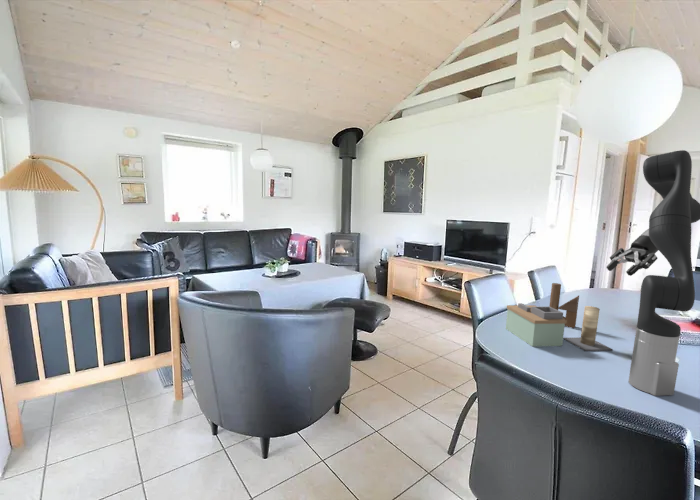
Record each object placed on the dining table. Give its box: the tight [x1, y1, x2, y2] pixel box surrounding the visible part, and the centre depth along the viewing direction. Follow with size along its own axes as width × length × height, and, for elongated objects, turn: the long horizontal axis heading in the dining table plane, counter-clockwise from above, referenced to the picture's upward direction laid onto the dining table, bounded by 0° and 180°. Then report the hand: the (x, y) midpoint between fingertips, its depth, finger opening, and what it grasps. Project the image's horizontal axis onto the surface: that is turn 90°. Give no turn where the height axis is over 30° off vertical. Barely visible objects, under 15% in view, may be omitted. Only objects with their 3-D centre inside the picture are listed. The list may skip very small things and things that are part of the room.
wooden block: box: [548, 282, 580, 329], centre depth 151 cm, size 4×11×18 cm, turn 46°
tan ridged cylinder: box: [580, 305, 601, 346], centre depth 129 cm, size 5×5×14 cm
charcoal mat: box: [563, 336, 613, 352], centre depth 130 cm, size 11×11×1 cm
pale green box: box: [505, 303, 567, 348], centre depth 135 cm, size 19×13×13 cm
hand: (617, 271), depth 127 cm, fingers open, 8 cm apart
